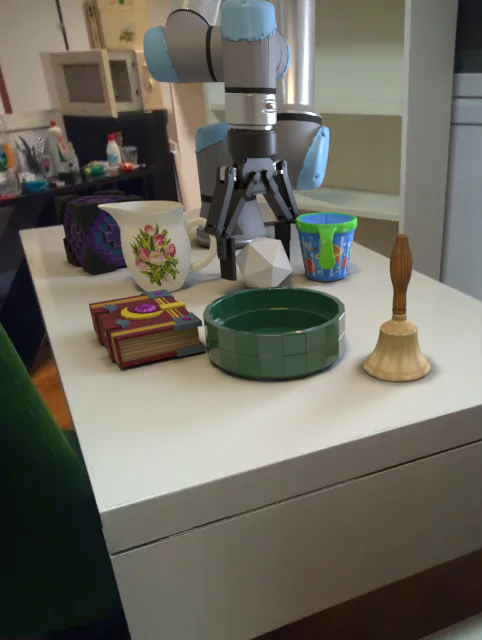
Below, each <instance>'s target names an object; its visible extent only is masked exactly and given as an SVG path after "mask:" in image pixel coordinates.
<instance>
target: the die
mask: <svg viewBox="0 0 482 640" xmlns="http://www.w3.org/2000/svg"><path fill="white" fill-rule="evenodd" d="M236 266H237V268H238V270H239V272H240V274H241V276H242V279H243V281H244V283H245V285H246V287H247V288H249V289H255V288H264V287H279V286H280V285H281V284H282V282H283V281H284V280H285V279H287V277H288V276H290V274H291V273H292V272H294V270H293V268H292V265H291V261H290V262H289V260H288V257H287V255H286V253H285V250H284V248H283V245H282V243H281V240H277V239H275V238H272V237H271V238H270V237H267V238H266V237H260V236H256V237H255V238H254V239H253V240H252V241H251V242H250V243H249V244H248V245H247V246H246V247H244V248H242V250H241V251H240V252H239V251H238V253H236Z"/></svg>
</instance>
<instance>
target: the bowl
mask: <svg viewBox="0 0 482 640" xmlns="http://www.w3.org/2000/svg"><path fill="white" fill-rule="evenodd" d="M202 318H203V327H204V336H205V344H206V345H205V346H206V352H207V355H208V357H209V359H210V361H211V362H212V363H213V364H215V365H217V366H218V367H219V368H221V369H223V370H224V371H226V372H228V373H230V374H232V375H236V376H239V377H242V378H243V377H244V378H246V379H254V380H266V381H268V380H269V381H278V380H279V381H280V380H289V379H296V378H302V377H305V376H309V375H313V374H316V373H318V372H320V371H323V370H325V369H327V368H328V367H329V366H331V365H332V364H333V363H335V362H336V361H338V360H339V359H340V358H341V357H342V355H343V354H344V352H345V351H346V350H345V349H346V307H345V303H343V302H342V300H340V299H339V298H338V297H336V296H334V295H332V294H330V293H328V292H326V291H321V290H317V289H311V288H305V287H295V286H277V287H264V288H255V289H254V288H247V289H243V290H238V291H234V292H231V293H228V294H225V295H223V296H220V297H217V298H215V299H214V300H212V301H211V302H210V303H208V304H207V305H206V306H205V308H204V310H203V311H202Z"/></svg>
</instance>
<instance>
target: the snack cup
mask: <svg viewBox="0 0 482 640" xmlns="http://www.w3.org/2000/svg"><path fill="white" fill-rule="evenodd" d="M294 225H295V229H296V231H297V233H298V241H299V246H300V252H301V257H302V263H303V269H304V273H305V275H306V277H307V278H308V279H309V280H314V281H319V282H333V281H334V282H335V281H338V280H342V279H345V278H346V277H347V275H348V271H349V267H350V260H351V254H352V248H353V242H354V233H355V231H356V229H357V226H358V218H357V217H356V216H355V215H354V214H350V213H346V212H345V213H343V212H335V211H334V212H333V211H322V212H320V211H319V212H311V213H310V212H309V213H305V214H301V215H300V214H299V217H298V218H297V220H296V223H295V224H294Z"/></svg>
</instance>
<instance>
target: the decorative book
mask: <svg viewBox="0 0 482 640" xmlns="http://www.w3.org/2000/svg"><path fill="white" fill-rule="evenodd" d="M88 308H89V311H90V312H89V313H90V316H91V321H92V326H93V330H94V332H95V335H96V339H97V341H98V342H99V344H100V345H104V346H105V348H106V349H107V354H108V357H109V359H110V360H111V362H112V363H113V362H116V364H117V365H118V367H119V368H120V369H122V368H127V367H131V366H136V365H140V364H146V363H149V362H153V361H158V360H162V359H167V358H171V357H176V356H177V357H183V356H188V355H192V354H197V353H202V352H207V349H206V345H205V344H204V343H203V342H202V341H201V340H200V333H199V327H204V324H203V320H202V319H201V318H200V317H198V316H197V314H195V313H194V312H193V311H191V312H190V311H189V310H188V309H187V307H186V303H184V302H183V301H182V300H179V301H177V300H176V299H175V296H174V295H173V294H172V292H168V291H167V290H166V289H163V290H158V291H152V292H142V293H139V294H138V295H133V296H127V297H121V298H115V299H109V300H103V301H97V302H91V303H88Z"/></svg>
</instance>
